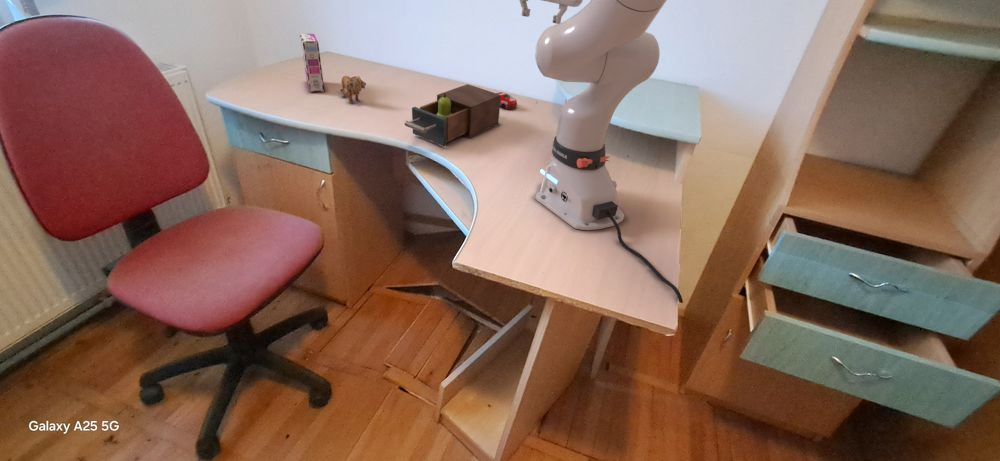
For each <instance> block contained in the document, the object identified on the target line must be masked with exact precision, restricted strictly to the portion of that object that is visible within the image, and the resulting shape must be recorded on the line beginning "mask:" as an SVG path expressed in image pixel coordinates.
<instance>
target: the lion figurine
mask: <svg viewBox="0 0 1000 461" xmlns="http://www.w3.org/2000/svg"><path fill="white" fill-rule="evenodd" d="M366 85H367V82H365V81H363V80H362V79H361V76H360V75H354V76H349V75H343V76H342V77H341V89H340V92H342V94H341V97H342V98H346V91H347V96H348V100H349V102H348V103H349V104H351V105H353V104H354V100H355V102H357V103H359V102H361V100H360V99H359V94H360V92H362V90H364V89H366ZM353 96H354V100H353Z"/></svg>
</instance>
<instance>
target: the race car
mask: <svg viewBox="0 0 1000 461" xmlns="http://www.w3.org/2000/svg"><path fill="white" fill-rule="evenodd" d="M495 93H496V94H499V95H501V97H500V98H501V99H500V108H501V109H502V110H506V109H507V110H509V109H511V110H512V109H514V108H517V107H518V100H517V99H516V98H515V97H513V96H512V95H510V94H508V93H506V92H502V91H501V92H495Z"/></svg>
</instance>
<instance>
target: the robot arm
mask: <svg viewBox="0 0 1000 461" xmlns="http://www.w3.org/2000/svg"><path fill="white" fill-rule="evenodd" d="M528 1H529V0H519V3H520V7H521V16H522V17H527V18H529V17H530V16H531V9H530V8H529V7H528V3H527V2H528ZM541 1H543V2H548V3H553V4H556V5H558V10H559V11H558V12H557V14H554V15H553V16H552V23H553V24H554V25H551V26H547V27H546V28H545V30H544V31H543V32H542V33H541V34H540V36H539V38H538V39H537V42H536V45H535V51H534V57H535V63H536V66H537V69H538V70H539V73H541V74H542V76H543V77H545V78H549V79H552V80H556V81H560V82H565V83H580V84H581V83H584V84H588V86H587V87H586V88H585V89H584V90H583V91H581V92H580V93H578V94H576V95H575V96H572V97H570V98H569V99H567V100H566V101H565V103H564V104H563V105H562V107H561V109H560V113H559V119H558V123H557V124H558V125H557V131H556V135H555V136H554V138H553V142H552V145H551V146H552V148H551V154H552V156H551V158H550V160H549V162H548V164H547V165H546V168H545V170H544V169H543V168H541V169H540V172H539V173H540V174H542V175H543V177H542V182H541V186H540V189H539V191H538V192H537V193H536V194H535V200H536V201H537V202H539V204H541V205H542V206H544V207H545V208H546V209H548V210H550V211H551V212H552V213H554V214H555V215H556V216H557V217H559V218H560V219H561V220H563V221H564V222H565V223H567V224H568V225H570V226H571V227H572V228H574V229H576V230H579V231H580V230H581V231H594V230H595V231H596V230H601V229H607V228H610V227H611V228H612V227H615V230H616V232H617V239H618V241H619V243H620V245H621V246H622V247H623V248H624V249H625V250H626V251H628V252H630V253H632V254H633V255H635V256H637V257H638V258H639V259H640V260H642V262H644V264H646V266H647V267H648V268H649V269H650V270H651V271H652V272H653V273H654V274H655V275H656V277H658V279H660V281H662V282H663V283H664V284H666V285H667V286H668V287H669V288H671V289H672V290H673V291H674V293H675V295H676V297H677V300H678V302H679V303H680V304H684V300H683V296H682V295H681V293H680V291H679V289H678V287H676V285H674V284H673V283H672V282H671V281H669V280H668V279H667V278H665V277H664V276H663V275H662V273H660V272H659V271H658V269H656V268H655V267H654V265H653V264H652V263H651V262H649V260H648V259H647V258H646V257H644V256H643V255H642V254H641V253H640V252H638V251H636V250H634V249H633V248H631V247H630V246H628V245H627V244H626V242H624V240H623V237H622V231H621V228H620V226H619V224H620V223H622V222H623V221H624V219H625V214H624V212H623V211H622V209H621V208H620V207H619V205H618V198H619V197H618V191H617V187H618V186H617V181H615V180H612V178H611V175H610V173H609V171H608V168H607V166H606V162H609V161H610V159H609V158H610V156H609V155H606V152H607V151H606V150H607V149H606V144H605V142H606V138H607V134H608V130H609V128H610V124H611V121H612V118H613V116H614V113H615V111H616V110H617V108H618V107H619V105H620V104H621V102H622V101H623V100H624V99H625V97H627V95H628V94H629V93H630V92H631V91H632V90H634V89H635V88H636V87H638V86H639V85H640V84H642V83H644V82H645V81H647V80H648V79H649V78H651V77H652V76H653V74H654V72H655V71H656V69H657V67H658V64H659V61H660V54H661V53H660V45H659V42H658V40H657V38H656V37H655V35H654V34H653V33H650V32H647V30H649V29H648V28H649V27H650V26H651V25H652V23H653V21H654V20H655V19H656V18H657V15H658V14H659V13H660V11H661V10H662V8H663V7H664V5H665V4H666V2H667V1H668V0H590V1H589V2H588V3H587V4H586V5H585V6H584V7H583V8H581V9H580V10H579V11H578V12H577V13H575V14H574V15H572V16H571V17H569V18H568V19H566V20H564V21H562V17H563V16H564V15H565V13H566V12H567V10H568V7H571V8H576V7H579V6H580V5H581V4H582V3H583V1H584V0H541Z"/></svg>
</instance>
